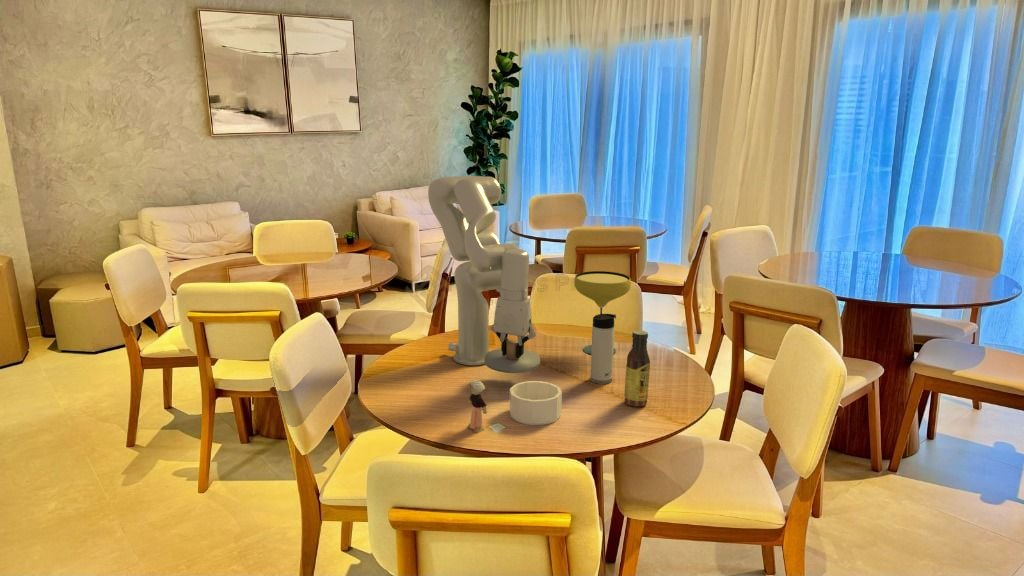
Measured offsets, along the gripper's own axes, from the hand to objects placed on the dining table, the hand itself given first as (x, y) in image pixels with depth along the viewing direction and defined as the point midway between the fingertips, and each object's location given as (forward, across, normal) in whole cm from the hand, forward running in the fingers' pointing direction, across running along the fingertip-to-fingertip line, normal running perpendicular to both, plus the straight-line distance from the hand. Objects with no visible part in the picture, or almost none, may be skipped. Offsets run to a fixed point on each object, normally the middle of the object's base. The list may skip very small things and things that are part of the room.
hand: (512, 354), depth 190 cm
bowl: (+8, +14, -17) cm, 23 cm away
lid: (+2, 0, 0) cm, 2 cm away
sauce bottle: (+8, +36, +1) cm, 37 cm away
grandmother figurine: (+8, +4, -31) cm, 32 cm away
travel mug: (+9, +23, +13) cm, 28 cm away
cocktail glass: (+9, +15, +38) cm, 42 cm away
